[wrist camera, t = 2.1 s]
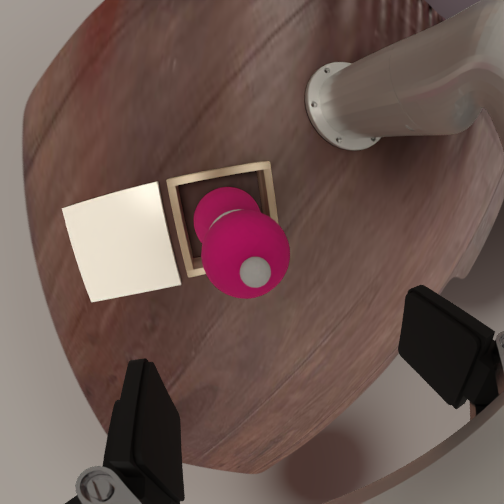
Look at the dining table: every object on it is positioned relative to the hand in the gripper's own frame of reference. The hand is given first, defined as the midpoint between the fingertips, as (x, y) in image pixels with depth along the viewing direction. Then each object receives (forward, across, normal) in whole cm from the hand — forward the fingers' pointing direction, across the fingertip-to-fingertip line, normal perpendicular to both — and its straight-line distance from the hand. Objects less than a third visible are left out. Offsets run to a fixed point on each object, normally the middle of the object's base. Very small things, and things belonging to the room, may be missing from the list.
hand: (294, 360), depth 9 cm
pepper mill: (+27, 0, 0) cm, 27 cm away
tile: (+27, +13, +1) cm, 30 cm away
